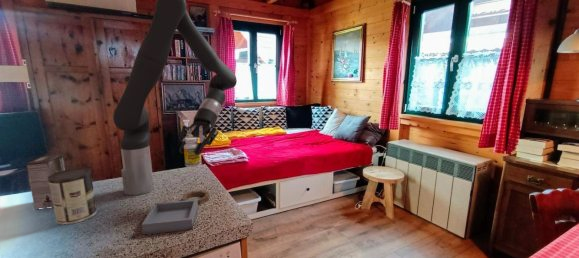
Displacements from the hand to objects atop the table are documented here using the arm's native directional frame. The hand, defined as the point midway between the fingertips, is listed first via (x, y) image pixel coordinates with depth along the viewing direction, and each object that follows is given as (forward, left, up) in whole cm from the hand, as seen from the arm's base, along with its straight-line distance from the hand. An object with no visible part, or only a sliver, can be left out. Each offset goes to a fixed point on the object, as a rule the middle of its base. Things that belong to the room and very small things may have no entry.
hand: (189, 153), depth 89 cm
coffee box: (-47, +9, -18) cm, 51 cm away
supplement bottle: (+1, +2, -5) cm, 5 cm away
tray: (-4, -12, -17) cm, 21 cm away
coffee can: (-34, -3, -18) cm, 39 cm away
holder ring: (+1, +1, -17) cm, 18 cm away
